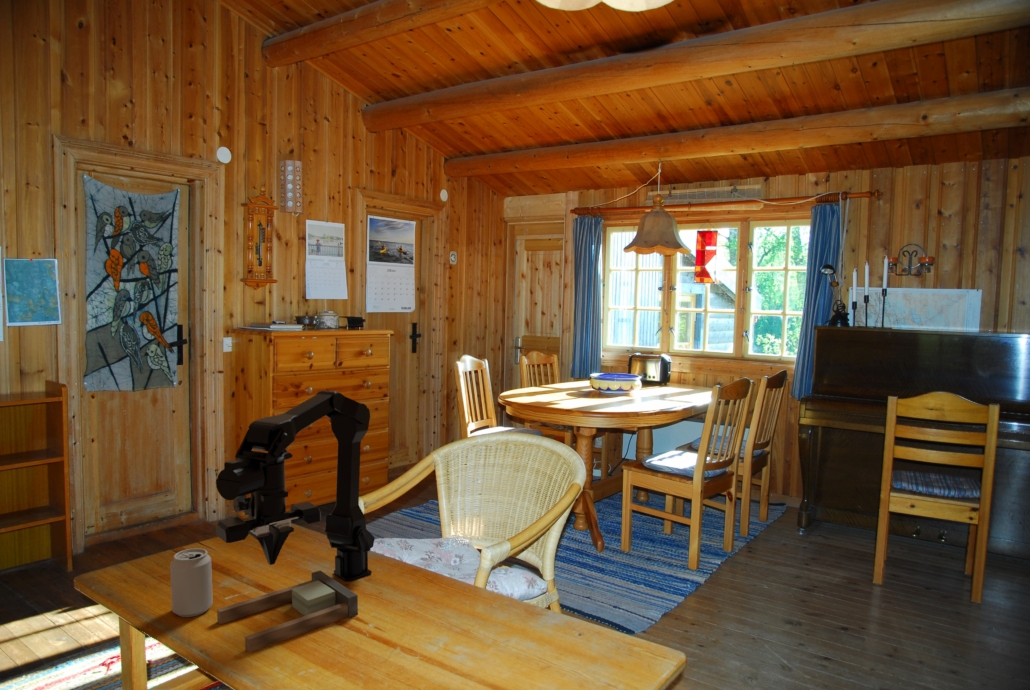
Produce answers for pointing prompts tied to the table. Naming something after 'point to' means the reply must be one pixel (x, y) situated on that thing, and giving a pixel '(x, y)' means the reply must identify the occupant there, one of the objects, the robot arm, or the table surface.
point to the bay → (341, 610)
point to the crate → (312, 598)
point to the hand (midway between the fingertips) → (271, 564)
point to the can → (191, 582)
